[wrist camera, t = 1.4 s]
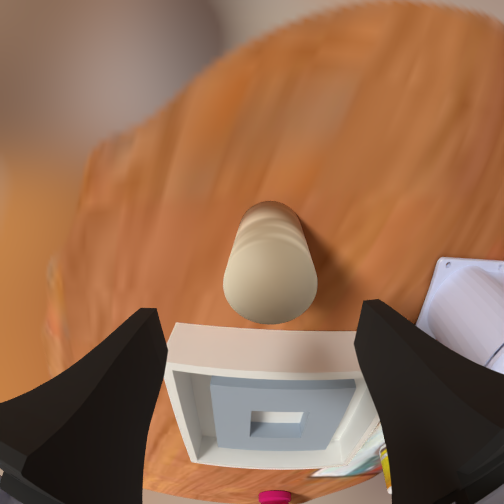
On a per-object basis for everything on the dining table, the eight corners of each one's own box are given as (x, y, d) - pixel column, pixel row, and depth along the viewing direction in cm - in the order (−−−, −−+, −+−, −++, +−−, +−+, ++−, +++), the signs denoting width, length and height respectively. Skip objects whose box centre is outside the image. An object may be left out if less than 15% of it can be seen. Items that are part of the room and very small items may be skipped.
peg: (303, 203, 17) (323, 245, 11) (298, 260, 19) (310, 325, 13) (239, 199, 18) (222, 240, 11) (238, 257, 19) (224, 321, 13)
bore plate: (351, 371, 22) (356, 387, 20) (323, 435, 27) (325, 449, 25) (213, 367, 23) (209, 384, 21) (220, 433, 27) (218, 447, 26)
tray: (393, 329, 21) (411, 366, 17) (342, 436, 28) (347, 465, 24) (176, 322, 22) (159, 360, 18) (197, 432, 29) (191, 462, 25)
